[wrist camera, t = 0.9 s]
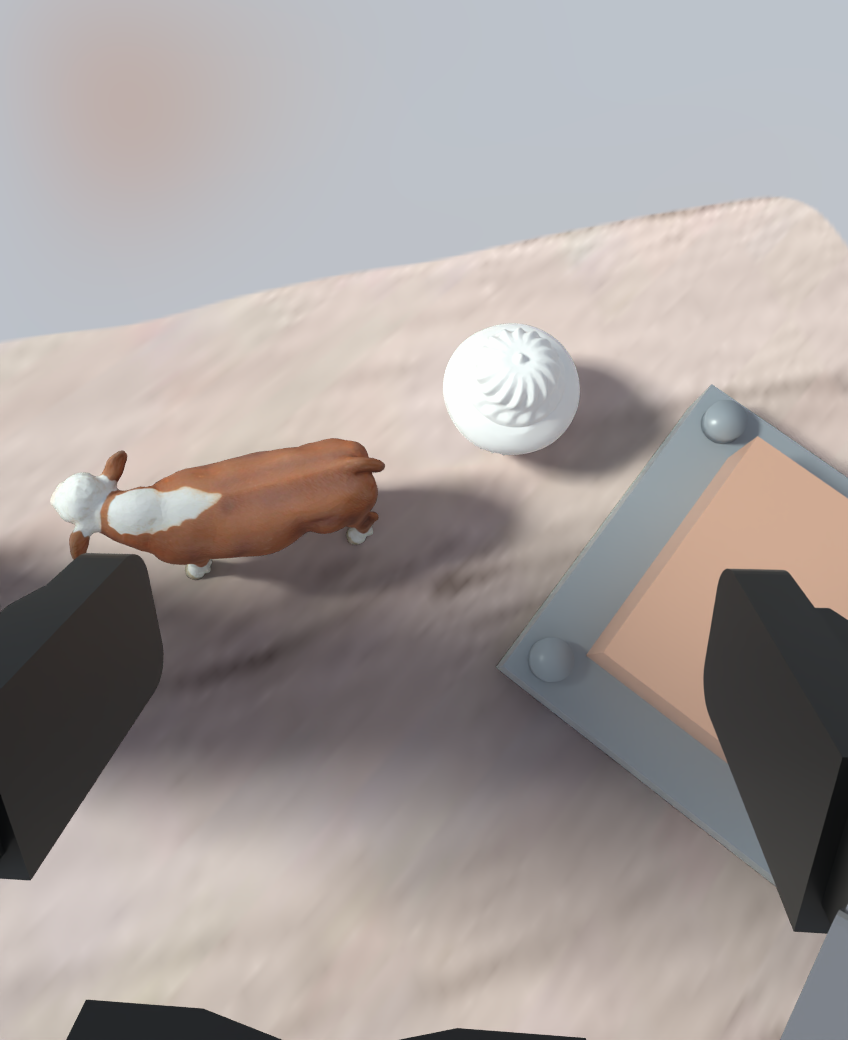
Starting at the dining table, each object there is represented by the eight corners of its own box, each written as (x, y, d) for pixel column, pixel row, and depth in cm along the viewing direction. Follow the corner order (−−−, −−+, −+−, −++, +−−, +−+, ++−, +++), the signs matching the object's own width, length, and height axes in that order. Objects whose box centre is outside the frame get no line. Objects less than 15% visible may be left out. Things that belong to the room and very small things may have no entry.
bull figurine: (108, 504, 36) (19, 453, 28) (386, 468, 36) (376, 407, 28) (112, 594, 35) (21, 568, 27) (397, 556, 35) (391, 519, 27)
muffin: (520, 500, 36) (543, 457, 29) (416, 430, 37) (414, 372, 30) (589, 401, 37) (626, 337, 30) (486, 335, 38) (501, 258, 31)
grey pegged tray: (495, 667, 34) (511, 663, 28) (688, 408, 37) (739, 355, 31) (792, 899, 32) (876, 948, 26) (973, 606, 35) (1085, 591, 29)
